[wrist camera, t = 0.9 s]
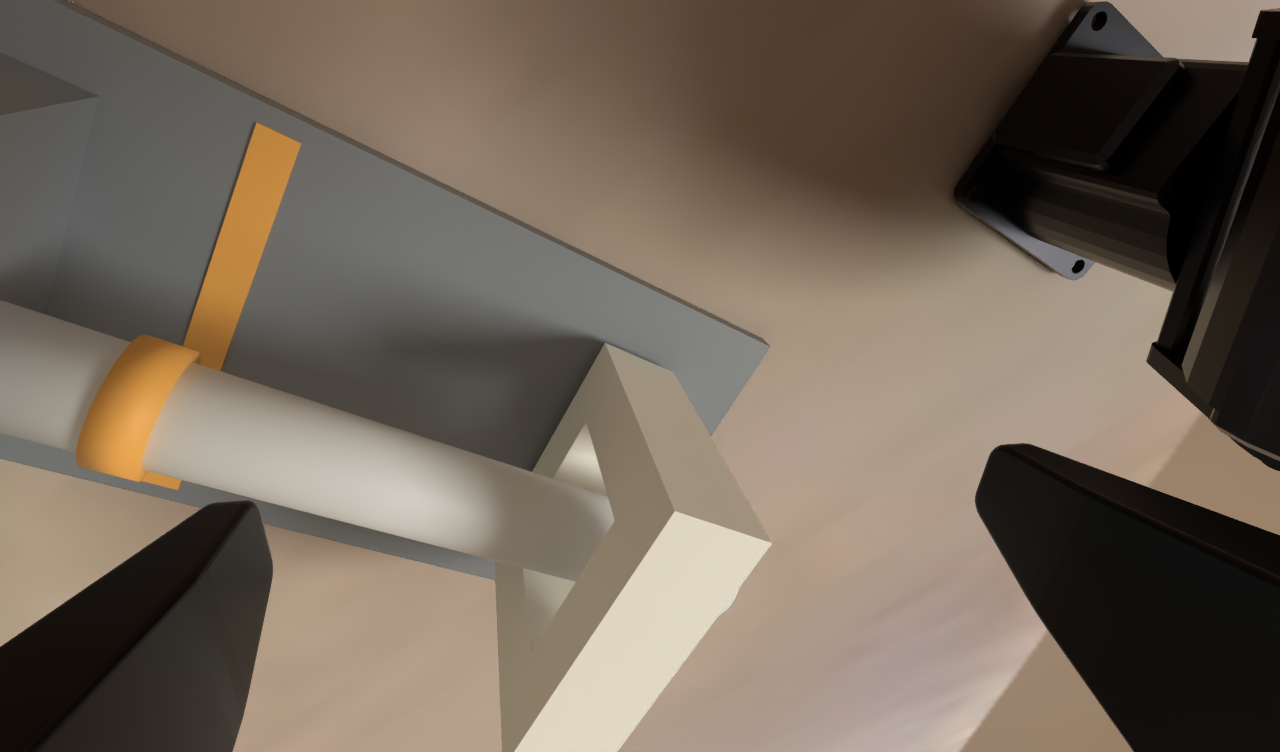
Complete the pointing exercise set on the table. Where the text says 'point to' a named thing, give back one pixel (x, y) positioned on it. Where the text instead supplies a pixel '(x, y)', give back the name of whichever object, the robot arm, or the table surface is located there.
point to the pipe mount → (297, 314)
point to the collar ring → (622, 564)
